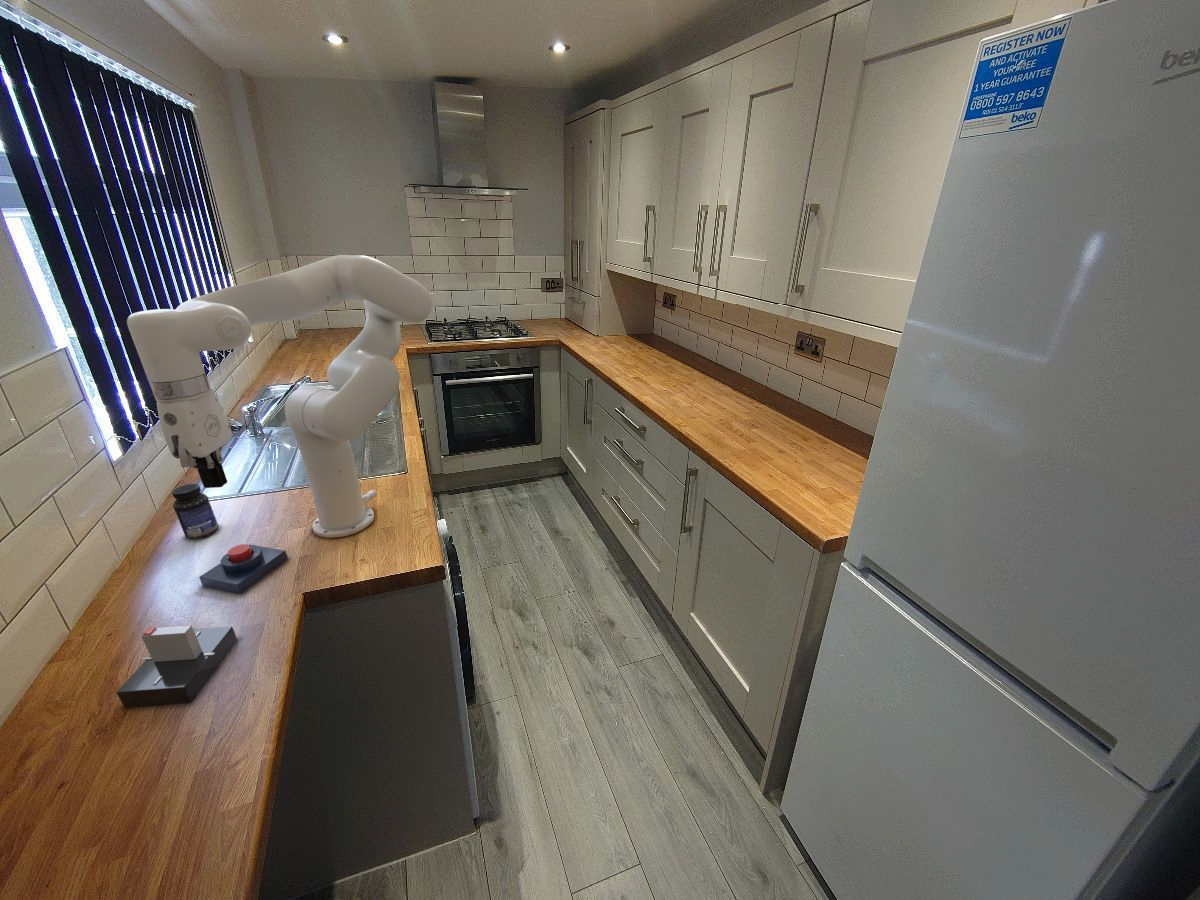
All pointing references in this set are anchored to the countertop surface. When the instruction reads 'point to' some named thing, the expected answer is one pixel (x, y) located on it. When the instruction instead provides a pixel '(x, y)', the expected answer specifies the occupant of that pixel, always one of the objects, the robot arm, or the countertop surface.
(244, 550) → the button
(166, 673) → the base
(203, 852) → the countertop surface
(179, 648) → the tap lever
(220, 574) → the button box
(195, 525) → the pill bottle
